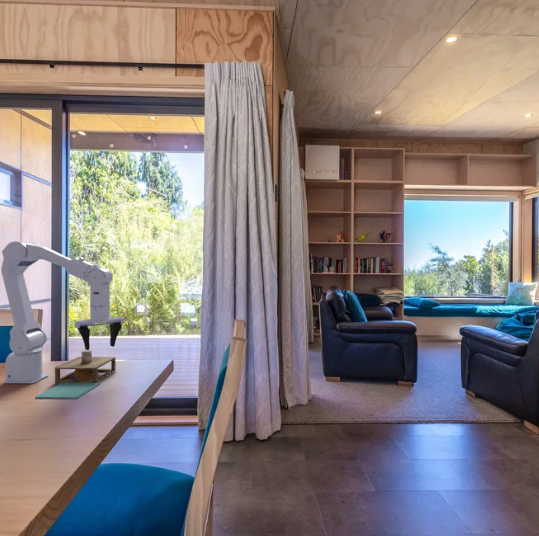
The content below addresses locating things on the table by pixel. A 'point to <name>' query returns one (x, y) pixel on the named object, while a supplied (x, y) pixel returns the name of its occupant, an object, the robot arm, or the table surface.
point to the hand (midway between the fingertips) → (100, 347)
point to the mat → (68, 390)
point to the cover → (85, 367)
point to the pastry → (83, 374)
